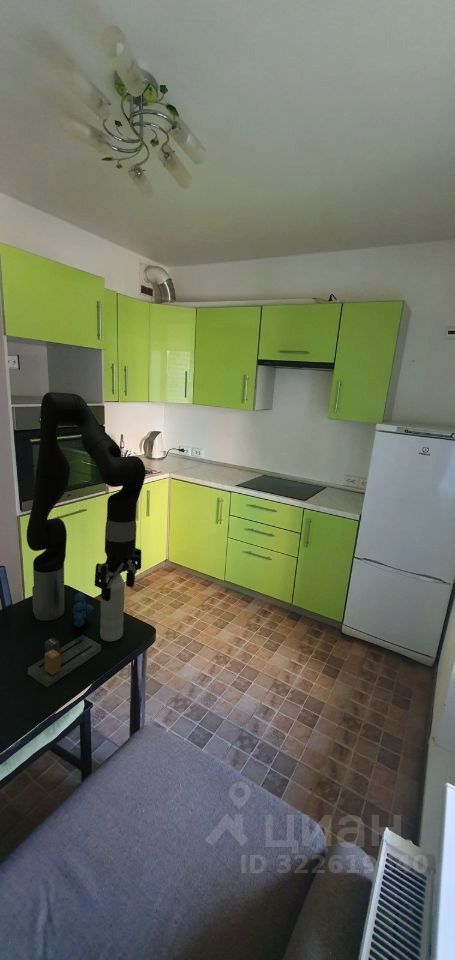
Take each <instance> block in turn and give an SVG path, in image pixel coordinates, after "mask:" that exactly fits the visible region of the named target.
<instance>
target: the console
mask: <svg viewBox="0 0 455 960" xmlns="http://www.w3.org/2000/svg"><path fill="white" fill-rule="evenodd" d="M101 651H102V645H101V644H100V643H98V642H96V641H94V640H93V639H91V638H89V637H87V636H85V635H84V634H82V635H80V636H79V637H77V638H75V639H74V640H72V641H70V642H68V643H66V644H65V645H63V646H62V647H60V670H59V671H58V672H56V673H55V674H53V675H51V674H50V673H48V672H47V671H45V657H44V658H42V659H41V660H38V661H37V662H35V663H34V664H32V665H30V666H29V667H27V675H28V676H29V677H31V678H33V679H34V680H36V681H37V682H38V683H40V684H41V685H43V686H44V687H45V688H49V687H50V686H51V685H53V684H55V683H56V682H58V681H59V680H60V679H61V678H63V677H65V676H67V675H68V674H69V673H71V672H73V671H74V670H75V669H77V668H78V667H80V666H81V665H83V664H84V663H85V662H87V661H88V660H90V659H91V658H93V657H94V656H96V655H97V654H99V653H100V652H101Z"/></svg>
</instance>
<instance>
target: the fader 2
mask: <svg viewBox="0 0 455 960" xmlns="http://www.w3.org/2000/svg"><path fill="white" fill-rule="evenodd" d="M44 658H45V671H47V672H48V673H50V674H51V675H53V674H55V673H56V672H58V671H59V670H60V653H58V652H57V651H55V650H53V649H52V650H51V651H49V652H47V653H45V652H44Z"/></svg>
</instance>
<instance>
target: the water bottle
mask: <svg viewBox="0 0 455 960" xmlns="http://www.w3.org/2000/svg"><path fill="white" fill-rule="evenodd" d="M109 575H113V573H111V572H110V571H109ZM123 578H124V577H123V576H122V574H121V573H120V574H119V575H118V576H117V578H116V580H114V581H113V582H112V584H111V586H110V587H111V599H110V600H109V601H105V600H103V599H102V597H101V596H100V618H99V619H100V620H99V623H100V629H99V636H100V639H102V640H103V641H105V642H116V641H118V640H119V639H121V638H122V636H123V635H124V612H125V611H124V608H125V586H126V582H125V581H124V579H123ZM108 580H109V578H107V580H106V582H108Z"/></svg>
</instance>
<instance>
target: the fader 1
mask: <svg viewBox="0 0 455 960" xmlns="http://www.w3.org/2000/svg"><path fill="white" fill-rule="evenodd" d="M60 648H61V646H60V641H59V640H57V639H55V638H54V637H51V638H49V639H47V640H46V641H44V654H45V653H47V652H49V651H51V650H52V649H53V650H55V651H57V652H58V653H60Z"/></svg>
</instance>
